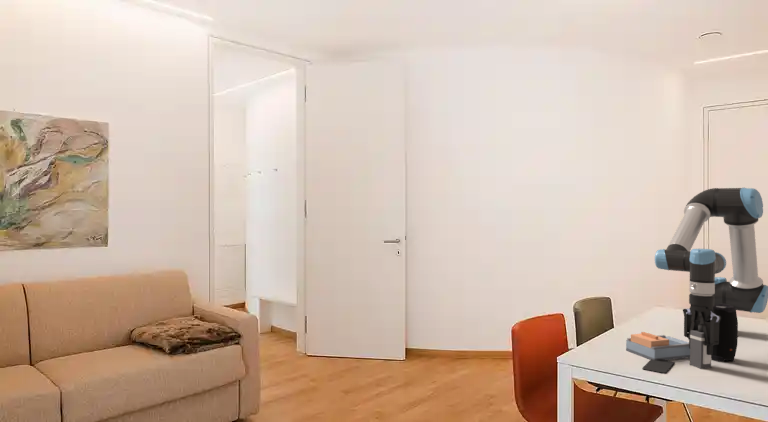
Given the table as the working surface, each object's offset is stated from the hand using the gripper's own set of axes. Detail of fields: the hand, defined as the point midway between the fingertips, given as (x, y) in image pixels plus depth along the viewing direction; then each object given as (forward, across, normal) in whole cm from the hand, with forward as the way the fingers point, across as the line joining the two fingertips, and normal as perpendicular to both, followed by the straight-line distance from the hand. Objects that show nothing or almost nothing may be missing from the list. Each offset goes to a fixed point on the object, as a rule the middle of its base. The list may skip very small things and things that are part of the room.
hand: (700, 361), depth 187 cm
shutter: (-2, -16, -7) cm, 18 cm away
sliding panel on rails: (+2, -16, -1) cm, 16 cm away
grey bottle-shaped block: (+2, 0, 0) cm, 2 cm away
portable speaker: (+2, -4, +14) cm, 15 cm away
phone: (+2, -4, -14) cm, 15 cm away
